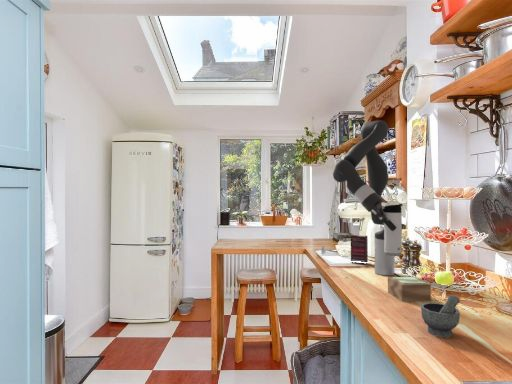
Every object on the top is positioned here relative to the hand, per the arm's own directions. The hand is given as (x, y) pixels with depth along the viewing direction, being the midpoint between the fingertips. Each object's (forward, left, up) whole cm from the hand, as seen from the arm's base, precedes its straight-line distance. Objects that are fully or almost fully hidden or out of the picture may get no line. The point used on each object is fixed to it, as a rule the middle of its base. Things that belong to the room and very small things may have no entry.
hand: (397, 228), depth 129 cm
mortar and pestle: (+35, -6, -26) cm, 44 cm away
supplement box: (-60, +8, -26) cm, 66 cm away
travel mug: (-1, -1, -11) cm, 11 cm away
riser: (+2, +3, -26) cm, 26 cm away
